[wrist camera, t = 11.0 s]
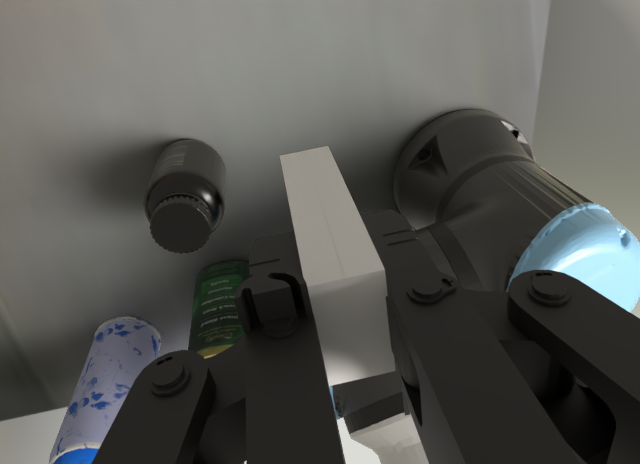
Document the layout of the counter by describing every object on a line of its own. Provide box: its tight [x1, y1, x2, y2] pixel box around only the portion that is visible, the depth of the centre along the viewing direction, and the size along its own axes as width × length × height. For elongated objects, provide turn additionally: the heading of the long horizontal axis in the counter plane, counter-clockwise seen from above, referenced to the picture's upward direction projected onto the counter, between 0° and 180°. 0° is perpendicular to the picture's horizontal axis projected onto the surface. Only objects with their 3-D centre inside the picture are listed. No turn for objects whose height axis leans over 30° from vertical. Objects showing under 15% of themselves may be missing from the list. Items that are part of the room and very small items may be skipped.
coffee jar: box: [188, 261, 250, 360], centre depth 48 cm, size 10×8×19 cm
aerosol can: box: [49, 316, 162, 464], centre depth 49 cm, size 8×8×20 cm
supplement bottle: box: [144, 140, 225, 253], centre depth 43 cm, size 7×7×12 cm
